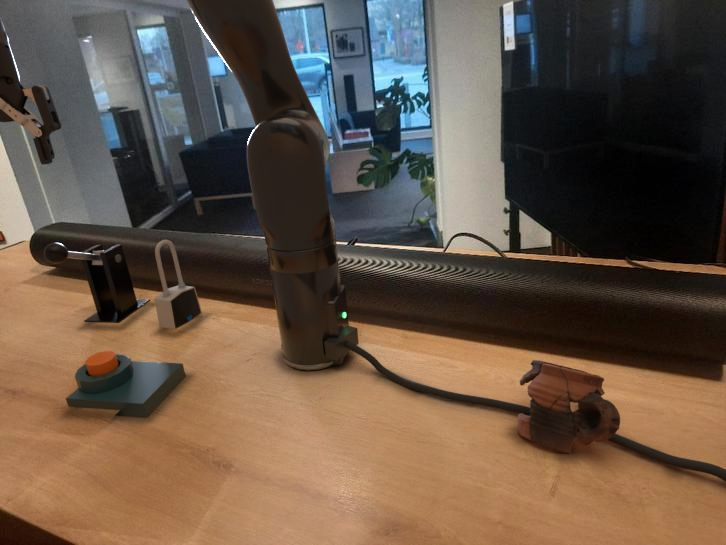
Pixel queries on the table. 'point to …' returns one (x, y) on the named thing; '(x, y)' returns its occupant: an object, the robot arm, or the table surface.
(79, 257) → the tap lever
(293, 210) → the robot arm
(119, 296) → the black lever base
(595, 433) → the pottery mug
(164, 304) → the padlock
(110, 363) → the button
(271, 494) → the table surface
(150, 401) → the control block
